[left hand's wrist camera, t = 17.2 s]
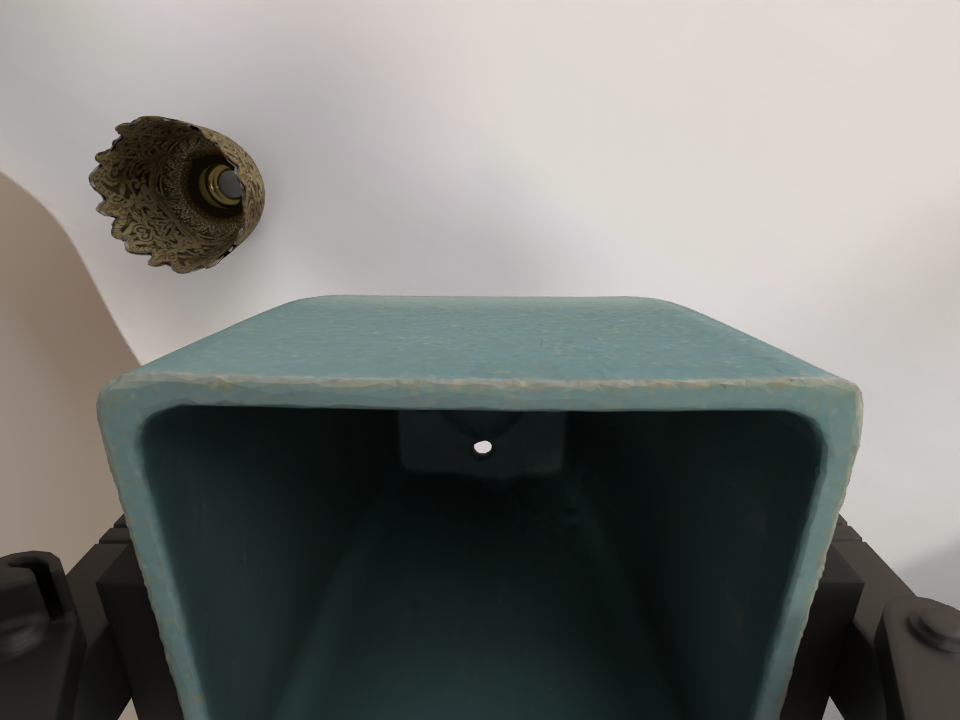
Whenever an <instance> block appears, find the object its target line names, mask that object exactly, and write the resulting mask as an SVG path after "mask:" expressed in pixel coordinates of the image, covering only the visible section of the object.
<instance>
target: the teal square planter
mask: <svg viewBox="0 0 960 720" xmlns="http://www.w3.org/2000/svg"><path fill="white" fill-rule="evenodd" d="M96 408H97V419H98V422H99V426H100V430H101V434H102V438H103V443H104V447H105V450H106V454H107V458H108V464H109V467H110V471H111V473H112V476H113V480H114V482H115V485H116V487H117V489H118V494H119V500H120V503H121V505H122V508H123V511H124V515H125V520H126V525H127V527H128V528H129V532H130V538H131V539H132V542H133V545H134V549H135V553H136V557H137V560H138V563H139V567H140V570H141V571H142V576H143V578H144V584H145V586H146V588H147V591H148V598H149V600H150V602H151V608H152V610H153V612H154V614H155V617H156V621H157V625H158V629H159V635H160V639H161V641H162V643H163V646H164V652H165V657H166V661H167V663H168V665H169V670H170V673H171V675H172V677H173V680H174V684H175V687H176V690H177V694H178V699H179V703H180V706H181V708H182V712H183V718H184V720H780V712H781V709H782V706H783V704H784V700H785V697H786V694H787V689H788V684H789V681H790V679H791V676H792V671H793V666H794V660H795V657H796V654H797V651H798V647H799V644H800V640H801V638H802V636H803V631H804V629H805V627H806V624H807V621H808V616H809V610H810V606H811V604H812V602H813V599H814V595H815V591H816V590H817V588H818V582H819V579H820V578H821V577H822V572H823V571H824V564H825V562H826V553H827V551H828V548H829V546H830V543H831V541H832V538H833V534H834V531H835V527H836V523H837V520H838V515H839V511H840V509H841V507H842V505H843V502H844V499H845V495H846V488H847V486H848V484H849V481H850V477H851V472H852V467H853V464H854V461H855V457H856V454H857V451H858V449H859V446H860V438H861V431H862V423H863V399H862V392H861V391H860V389H859V388H858V387H857V385H856V384H854V383H852V382H849V381H847V380H845V379H843V378H840V377H838V376H836V375H833V374H831V373H829V372H827V371H824V370H822V369H820V368H818V367H816V366H814V365H812V364H810V363H808V362H805V361H803V360H801V359H799V358H797V357H795V356H793V355H791V354H789V353H787V352H785V351H783V350H780V349H778V348H776V347H774V346H772V345H770V344H767V343H765V342H763V341H761V340H759V339H757V338H755V337H752V336H750V335H748V334H746V333H744V332H741V331H739V330H737V329H735V328H733V327H730V326H728V325H726V324H724V323H722V322H719V321H717V320H715V319H713V318H710V317H708V316H706V315H704V314H701V313H699V312H697V311H694V310H692V309H689V308H687V307H684V306H681V305H678V304H675V303H672V302H668V301H664V300H659V299H654V298H644V297H627V296H624V297H435V296H373V295H329V296H319V297H312V298H306V299H299V300H296V301H292V302H289V303H286V304H283V305H280V306H278V307H275V308H273V309H270V310H268V311H265V312H263V313H260V314H258V315H256V316H253V317H251V318H248V319H246V320H244V321H242V322H239V323H237V324H235V325H233V326H231V327H228V328H226V329H224V330H222V331H220V332H217V333H215V334H212V335H210V336H208V337H205V338H203V339H201V340H199V341H196V342H194V343H192V344H190V345H188V346H185V347H183V348H181V349H179V350H176V351H174V352H172V353H170V354H167V355H165V356H163V357H161V358H159V359H156V360H154V361H152V362H150V363H148V364H145V365H143V366H141V367H139V368H137V369H134V370H132V371H130V372H128V373H126V374H123V375H121V376H119V377H117V378H115V379H114V380H112V381H110V382H108V383H107V384H106V385H105V386H104V387H103V388H102V389H101V390H100V393H99V396H98V399H97V404H96ZM481 441H488V442H490V443H491V445H492V448H491V450H490V451H489V452H487V453H478V452H477V451H476V450H475V449H474V444H476V443H478V442H481Z"/></svg>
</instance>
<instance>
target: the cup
mask: <svg viewBox="0 0 960 720" xmlns="http://www.w3.org/2000/svg"><path fill="white" fill-rule="evenodd" d="M115 130H116V131H117V132H118V134H120V135H121V136H120V137H119V138H118V139H116V140H114V141H113V142H112V146H111V148H110V149H108V150H106V151H104V152H99V153H98V154H96V156H95V160H96V161H97V162H99V163H100V164H99V166H98V167H96V168H95V169H94V170H93V171H92V172H91V173H90V175H89V182H90V185H91V186H92V187H93V188H94V190H95V191H97V192H98V193H99V194H100V195H101V196H102V198H103V201H102V202H100V203H99V205H98V206H97V207H96V210H97V211H98V212H99V213H100V214H103V215H104V216H111V217H114V218H115V219H114V221H113V222H112V224H111V225H112V230H111V234H112V236H113V237H114V238H116V239H120V240H122V241H123V242H125V243H124V245H125V250H126V251H127V252H129V253H131V254H135V255H151V256H152V257H151V258H150V260H149V261H147V262H148V265H150V266H153V267H158V266H162V265H168V266H170V267H171V268H172V270H173V271H175V272H177V273H180V274H184V273H189V272H193V271H196V270H199V269H202V268H205V269H207V268H211V267H213V266H215V265H216V264H218V263H219V262H220V260H222V259H223V258H224V257H226V256H227V255H228V254H229V253H231V252H232V251H233V250H234V249H235V248H236V247H237V246H239V245H240V244H241V243H242V242H243V241H244V240H245V239H246V238H247V237H248V236H249V235H250V234H251V233H252V231H253V230H254V228H255V227H256V226H257V224H258V222H259V220H260V218H261V215H262V212H263V208H264V202H265V191H264V185H263V180H262V177H261V174H260V172H259V170H258V168H257V166H256V164H255V163H254V161H253V160H252V158H251V157H250V156H249V155H248V153H247V152H246V151H245V150H244V149H243V148H242V147H240V146H239V145H238V144H237V143H235V142H234V141H233V140H231V139H230V138H228V137H226V136H224V135H222V134H220V133H218V132H216V131H213V130H210V129H208V128H204V127H201V126H197V125H194V124H190V123H186V122H183V121H180V120H174V119H169V118H164V117H159V116H143V117H139V118H137V119H136V120H133V121H132V122H131V123H123V124H120V125H118V126H117V127H116V128H115ZM229 170H231V171H234V173H235V175H236V176H237V178H238V181H239V184H240V185H241V186H242V195H241V196H240V197H237V198H230V197H228V196H226V195H225V194H223V193H222V191H221V190H220V188H219V184H218V180H219V177H220V175H221V174H222V173H223V172H225V171H229Z"/></svg>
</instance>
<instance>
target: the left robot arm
mask: <svg viewBox="0 0 960 720" xmlns="http://www.w3.org/2000/svg"><path fill="white" fill-rule="evenodd" d="M829 696H830V697H831V699H832V700H833V702H834V704H835V705H836V707H837V708H838V710H839V712H840V713H841V715H842V716H843V718H844V720H960V611H959V610H957V609H955V608H953V607H951V606H948V605H945V604H943V603H940V602H937V601H935V600H932V599H927V598H921V597H917V596H916V595H915V594H914V593H913V592H912V591H911V590H910V589H909V588H908V586H907V585H906V584H905V583H904V582H903V581H902V580H901V579H900V578H899V577H898V576H897V575H896V574H895V573H894V572H893V571H892V569H891V568H890V567H889V566H888V565H887V564H886V563H885V562H884V561H883V560H882V559H881V558H880V557H879V556H878V555H877V554H876V552H875V551H874V550H873V549H872V548H871V547H870V546H869V545H868V544H867V543H866V542H862V538H861V537H860V535H859V534H858V533H857V532H856V531H855V530H854V529H853V528H852V527H851V526H848V525H847V522H846V521H845V519H844V518H843V517H842V516H841V515H840V514H839V515H838V520H837V523H836V527H835V531H834V534H833V538H832V541H831V543H830V546H829V548H828V551H827V553H826V562H825V564H824V571H823V572H822V577H821V578H820V579H819V582H818V588H817V590H816V591H815V595H814V599H813V602H812V604H811V606H810V610H809V616H808V621H807V624H806V627H805V629H804V631H803V636H802V638H801V640H800V644H799V647H798V651H797V654H796V657H795V660H794V666H793V671H792V676H791V679H790V681H789V684H788V689H787V694H786V697H785V700H784V704H783V706H782V709H781V712H780V720H822V718H823V715H824V711H825V708H826V705H827V702H828V699H829ZM131 697H132V701H133V704H134V707H135V710H136V713H137V716H138V720H184V718H183V712H182V708H181V706H180V703H179V699H178V694H177V690H176V687H175V684H174V680H173V677H172V675H171V673H170V670H169V665H168V663H167V661H166V657H165V652H164V646H163V643H162V641H161V639H160V635H159V629H158V625H157V621H156V617H155V614H154V612H153V610H152V608H151V602H150V600H149V598H148V591H147V588H146V586H145V584H144V578H143V576H142V571H141V570H140V567H139V563H138V560H137V557H136V553H135V549H134V545H133V542H132V539H131V538H130V532H129V528H128V527H127V525H126V520H125V515H124V514H123V515H122V516H121V517H120V518H119V519H118V520H117V521H116V522H115V523H114V527H113V528H110V529H109V530H108V531H107V532H106V533H105V534H104V535H103V536H102V537H101V538H100V540H99V544H95V545H94V546H93V547H92V548H91V549H90V550H89V551H88V552H87V553H86V554H85V556H84V557H83V558H82V559H81V560H80V561H79V562H78V563H77V564H76V565H75V566H74V567H73V568H72V569H71V571H70V572H69V573H68V574H67V575H66V576H65V573H64V570H63V567H62V564H61V561H60V559H59V558H58V557H56V556H55V555H53V554H52V553H50V552H42V551H28V552H21V553H14V554H10V555H7V556H4V557H1V558H0V720H118V718H119V717H120V715H121V713H122V712H123V710H124V709H125V707H126V705H127V704H128V702H129V701H130V699H131Z"/></svg>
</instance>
